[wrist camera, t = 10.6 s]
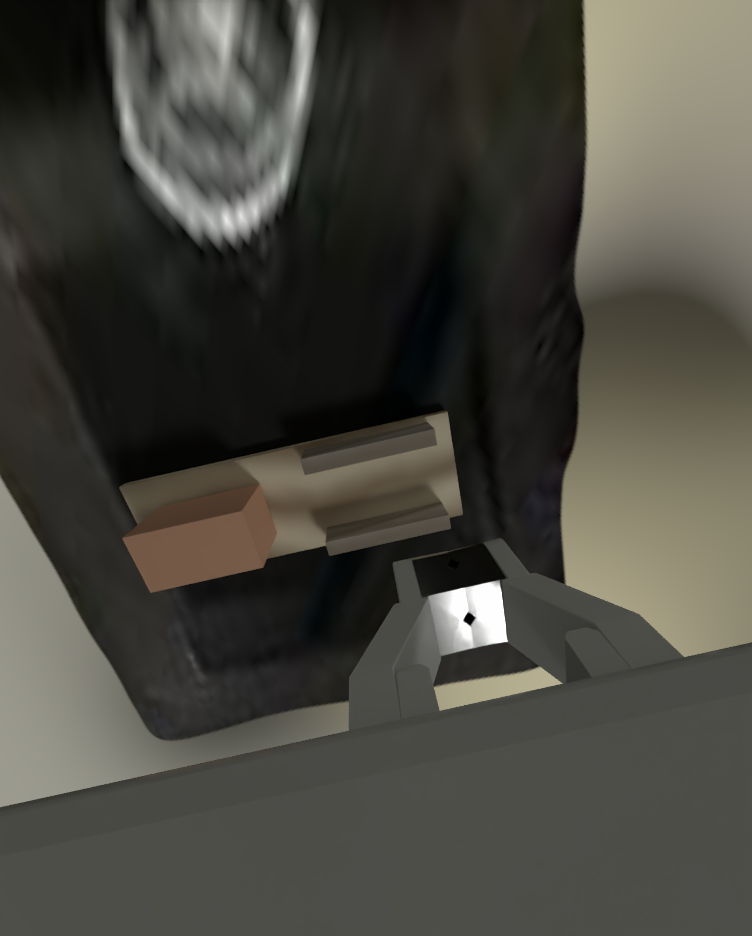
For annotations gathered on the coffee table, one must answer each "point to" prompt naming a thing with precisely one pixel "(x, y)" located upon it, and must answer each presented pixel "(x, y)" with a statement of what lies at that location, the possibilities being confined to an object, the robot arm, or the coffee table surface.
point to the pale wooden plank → (333, 486)
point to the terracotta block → (203, 538)
